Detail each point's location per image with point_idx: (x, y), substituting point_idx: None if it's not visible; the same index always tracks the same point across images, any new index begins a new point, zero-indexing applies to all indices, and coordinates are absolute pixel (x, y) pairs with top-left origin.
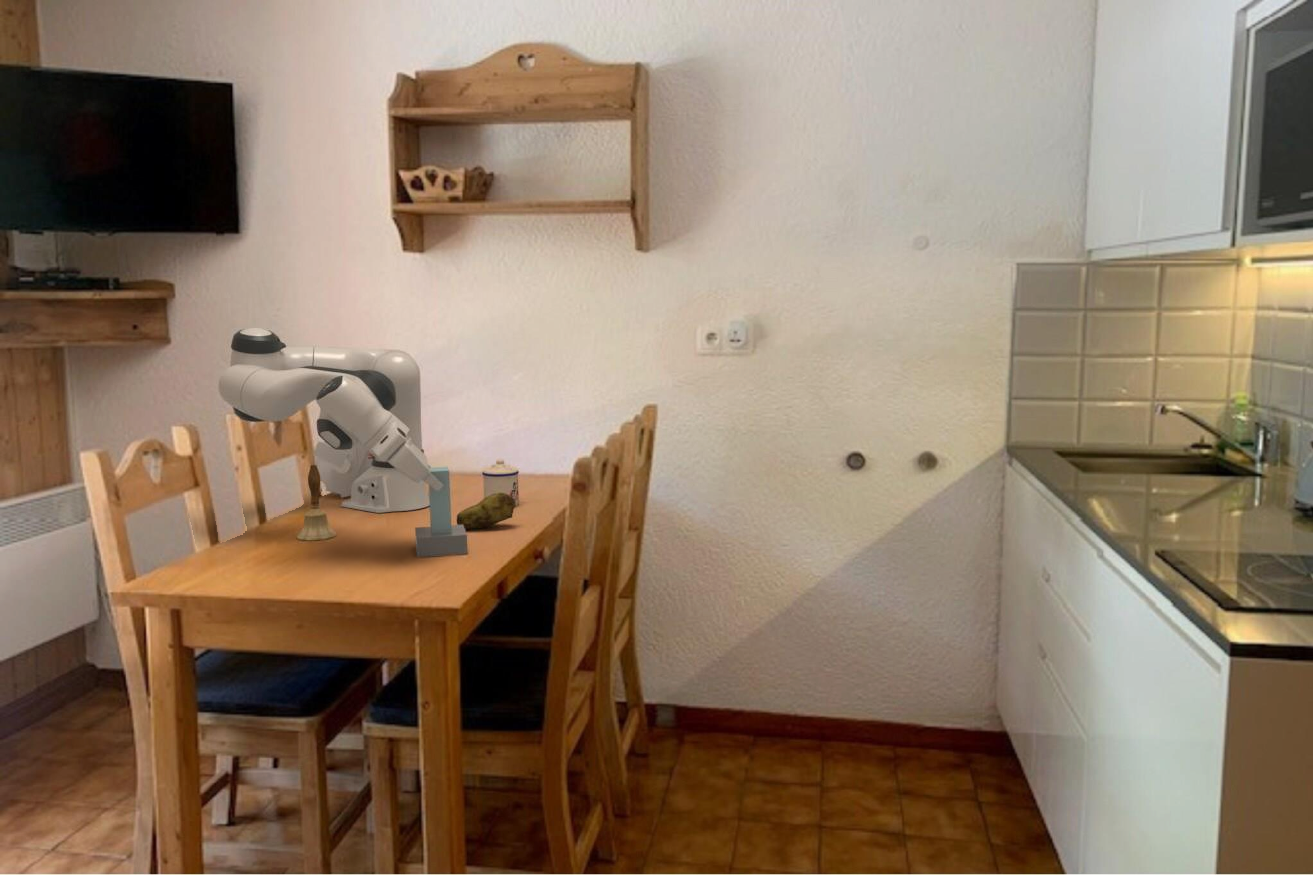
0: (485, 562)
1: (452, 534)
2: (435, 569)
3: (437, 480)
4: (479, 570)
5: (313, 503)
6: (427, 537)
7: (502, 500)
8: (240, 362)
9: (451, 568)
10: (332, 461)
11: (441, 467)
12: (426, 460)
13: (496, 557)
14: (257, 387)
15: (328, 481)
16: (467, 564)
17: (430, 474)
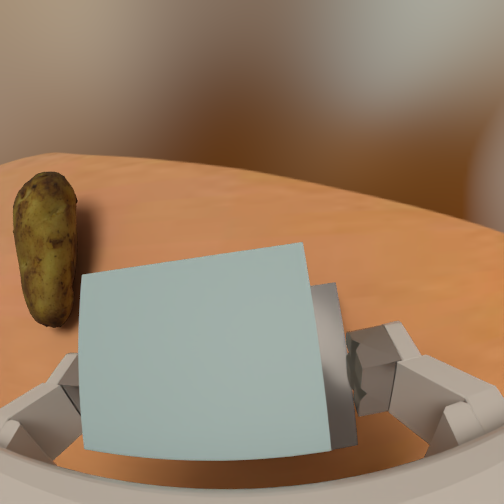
0: (415, 247)
1: (323, 330)
2: (469, 360)
3: (419, 353)
4: (476, 256)
5: None
6: (354, 410)
7: (56, 188)
8: None
9: (464, 322)
10: None
11: (94, 328)
12: (73, 485)
13: (370, 224)
14: None
15: None
16: (432, 288)
17: (497, 395)
